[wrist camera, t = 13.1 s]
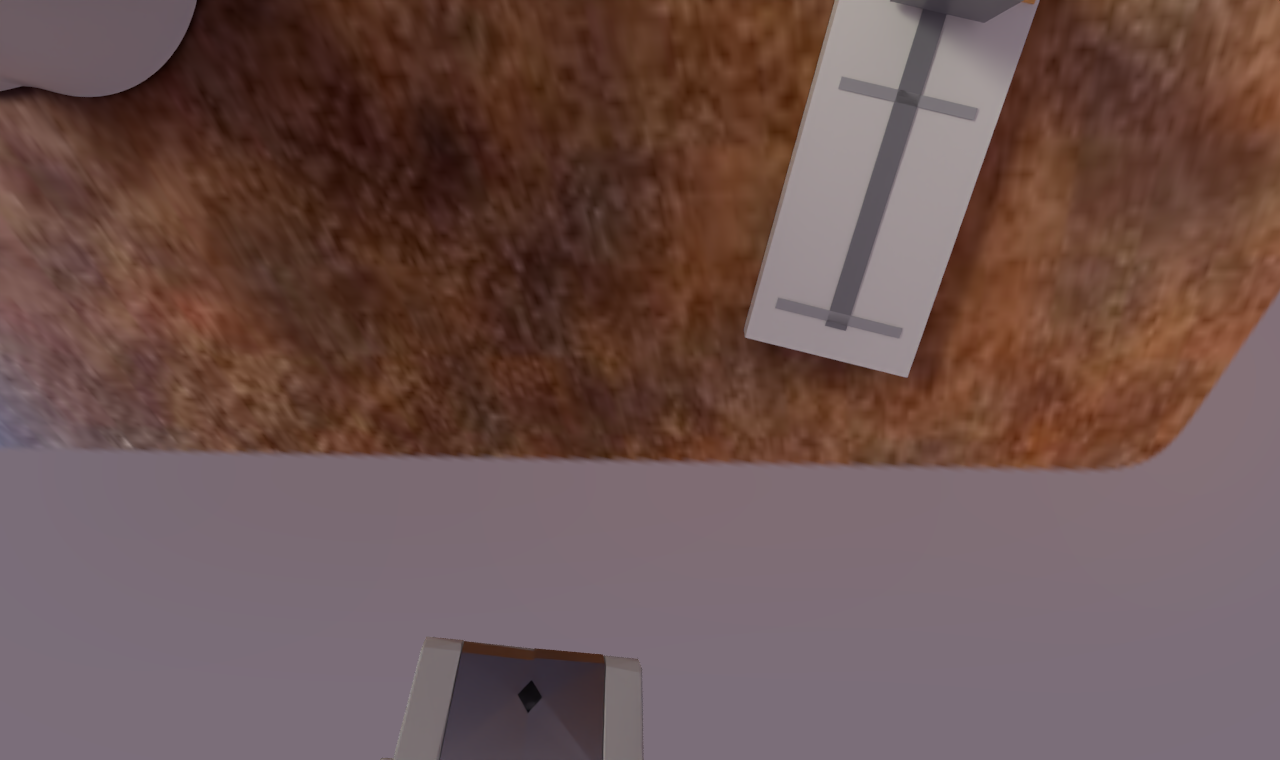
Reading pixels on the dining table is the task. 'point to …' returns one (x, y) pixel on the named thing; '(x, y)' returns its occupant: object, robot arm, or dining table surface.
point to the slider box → (882, 178)
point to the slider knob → (964, 7)
